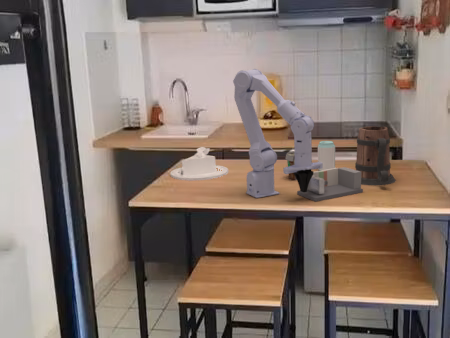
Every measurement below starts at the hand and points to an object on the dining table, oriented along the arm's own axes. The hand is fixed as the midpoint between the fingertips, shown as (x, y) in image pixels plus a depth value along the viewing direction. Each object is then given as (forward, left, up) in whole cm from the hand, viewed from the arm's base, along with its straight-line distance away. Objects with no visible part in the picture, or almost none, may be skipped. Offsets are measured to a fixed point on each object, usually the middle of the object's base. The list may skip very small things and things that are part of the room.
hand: (303, 191), depth 174 cm
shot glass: (+26, +43, -3) cm, 50 cm away
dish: (-15, +57, -3) cm, 59 cm away
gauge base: (+11, 0, -2) cm, 11 cm away
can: (+31, +29, -3) cm, 43 cm away
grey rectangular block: (+7, 0, -1) cm, 7 cm away
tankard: (+34, +3, -3) cm, 34 cm away
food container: (+14, +27, -3) cm, 31 cm away
